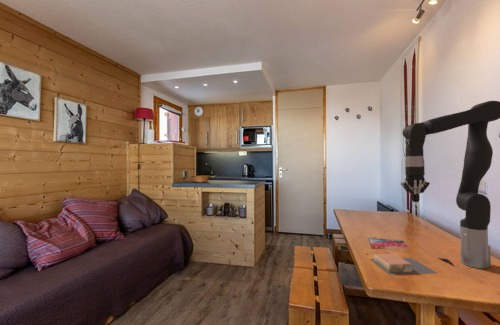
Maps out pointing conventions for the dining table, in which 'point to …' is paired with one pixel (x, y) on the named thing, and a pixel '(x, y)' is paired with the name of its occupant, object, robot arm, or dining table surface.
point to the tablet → (386, 243)
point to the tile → (392, 263)
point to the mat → (416, 267)
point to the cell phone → (446, 261)
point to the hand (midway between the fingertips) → (415, 201)
